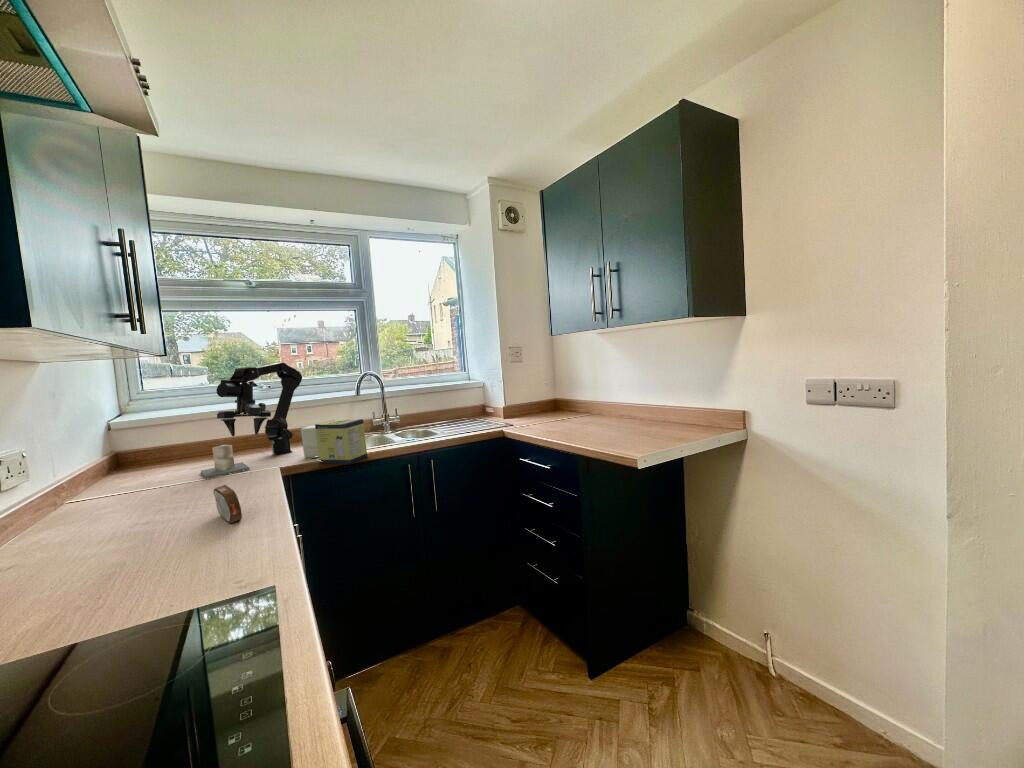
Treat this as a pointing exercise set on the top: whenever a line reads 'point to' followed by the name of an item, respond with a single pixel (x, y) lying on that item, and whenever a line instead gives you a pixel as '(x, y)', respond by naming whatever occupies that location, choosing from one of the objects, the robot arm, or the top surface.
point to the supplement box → (309, 441)
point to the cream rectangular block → (223, 457)
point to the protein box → (341, 441)
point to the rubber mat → (212, 473)
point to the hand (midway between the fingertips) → (245, 435)
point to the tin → (227, 504)
